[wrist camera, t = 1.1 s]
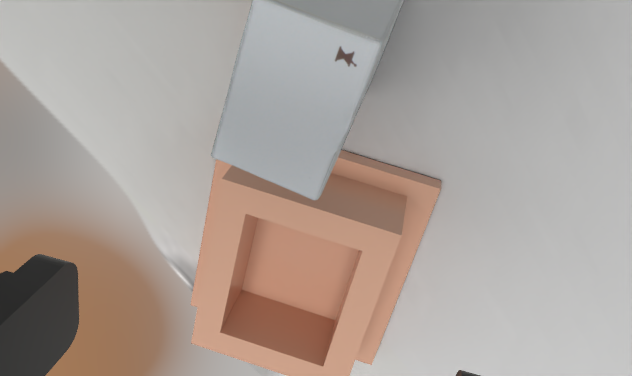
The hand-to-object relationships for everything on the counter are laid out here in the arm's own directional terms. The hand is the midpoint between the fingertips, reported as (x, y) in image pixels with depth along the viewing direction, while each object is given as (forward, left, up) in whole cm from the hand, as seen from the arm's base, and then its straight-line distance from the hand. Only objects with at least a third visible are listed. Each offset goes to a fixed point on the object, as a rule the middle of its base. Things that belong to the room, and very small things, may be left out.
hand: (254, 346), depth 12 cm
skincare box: (-2, +2, -21) cm, 21 cm away
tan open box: (-1, -11, -21) cm, 24 cm away
